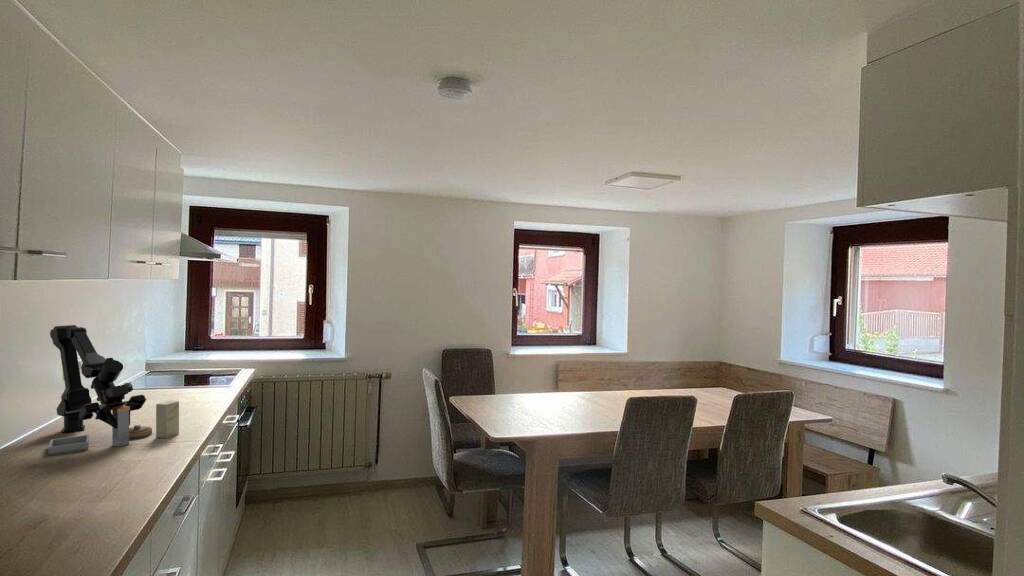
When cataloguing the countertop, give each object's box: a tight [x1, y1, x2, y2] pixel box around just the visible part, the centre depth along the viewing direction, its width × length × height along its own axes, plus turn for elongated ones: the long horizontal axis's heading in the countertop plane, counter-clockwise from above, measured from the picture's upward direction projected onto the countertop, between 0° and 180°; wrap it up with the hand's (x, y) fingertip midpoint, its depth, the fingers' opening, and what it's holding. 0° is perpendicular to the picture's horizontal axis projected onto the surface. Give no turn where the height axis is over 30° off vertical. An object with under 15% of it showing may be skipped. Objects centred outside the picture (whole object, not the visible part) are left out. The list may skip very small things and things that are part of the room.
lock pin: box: [111, 405, 130, 448], centre depth 190 cm, size 4×4×13 cm
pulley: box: [129, 424, 153, 440], centre depth 201 cm, size 9×9×4 cm
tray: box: [47, 434, 90, 456], centre depth 186 cm, size 10×10×2 cm
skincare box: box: [155, 400, 180, 439], centre depth 202 cm, size 6×4×12 cm
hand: (122, 426), depth 189 cm, fingers closed on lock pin, 3 cm apart
